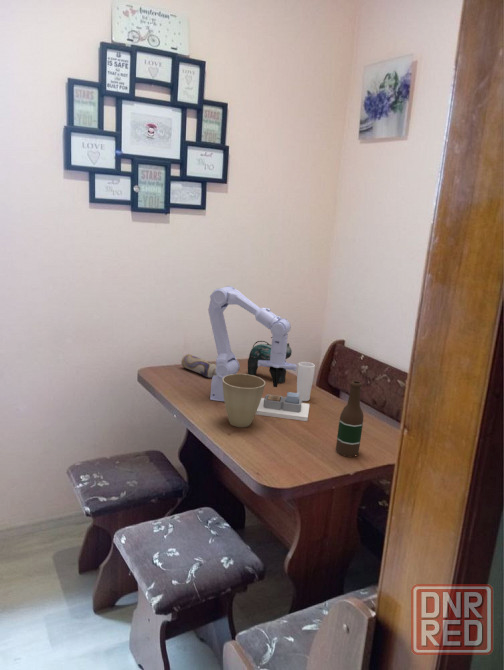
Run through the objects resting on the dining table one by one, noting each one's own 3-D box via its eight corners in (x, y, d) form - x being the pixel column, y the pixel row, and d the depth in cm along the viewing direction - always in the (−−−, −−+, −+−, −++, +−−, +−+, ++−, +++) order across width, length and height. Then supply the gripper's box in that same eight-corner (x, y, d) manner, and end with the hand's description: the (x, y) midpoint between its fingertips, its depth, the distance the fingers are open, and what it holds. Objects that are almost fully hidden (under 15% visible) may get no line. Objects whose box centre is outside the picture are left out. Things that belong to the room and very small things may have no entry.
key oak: (267, 405, 202) (267, 398, 202) (268, 401, 207) (269, 394, 206) (278, 406, 202) (279, 400, 201) (279, 402, 206) (280, 396, 205)
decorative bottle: (179, 369, 243) (180, 355, 242) (192, 366, 249) (192, 352, 247) (219, 385, 227) (220, 370, 225) (232, 381, 233) (233, 367, 231)
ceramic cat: (289, 382, 237) (293, 338, 232) (282, 386, 232) (286, 341, 227) (251, 372, 247) (255, 329, 242) (243, 375, 242) (247, 332, 237)
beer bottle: (332, 446, 178) (341, 377, 172) (355, 447, 178) (365, 378, 173) (338, 457, 170) (347, 385, 164) (362, 458, 171) (372, 386, 165)
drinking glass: (310, 403, 214) (314, 367, 210) (293, 401, 215) (297, 365, 212) (311, 397, 220) (315, 363, 217) (295, 395, 222) (299, 360, 218)
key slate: (286, 402, 201) (286, 395, 200) (287, 398, 205) (287, 391, 205) (297, 403, 200) (298, 397, 200) (298, 399, 205) (299, 393, 204)
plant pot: (230, 434, 180) (233, 389, 176) (212, 417, 193) (215, 375, 189) (269, 429, 187) (273, 385, 183) (249, 412, 200) (253, 372, 196)
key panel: (253, 414, 199) (254, 402, 198) (258, 400, 212) (259, 390, 211) (307, 421, 196) (308, 409, 195) (309, 407, 210) (310, 396, 209)
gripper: (257, 352, 196) (254, 387, 200) (297, 356, 194) (293, 392, 198) (260, 347, 203) (257, 381, 206) (298, 351, 201) (295, 386, 204)
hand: (275, 386), depth 202 cm, fingers closed
